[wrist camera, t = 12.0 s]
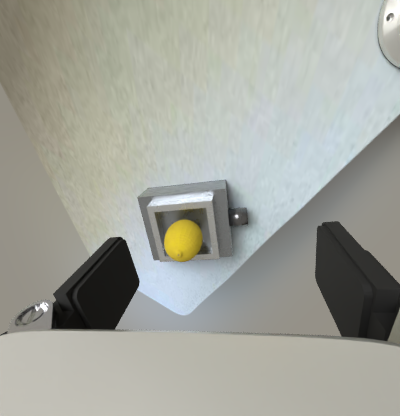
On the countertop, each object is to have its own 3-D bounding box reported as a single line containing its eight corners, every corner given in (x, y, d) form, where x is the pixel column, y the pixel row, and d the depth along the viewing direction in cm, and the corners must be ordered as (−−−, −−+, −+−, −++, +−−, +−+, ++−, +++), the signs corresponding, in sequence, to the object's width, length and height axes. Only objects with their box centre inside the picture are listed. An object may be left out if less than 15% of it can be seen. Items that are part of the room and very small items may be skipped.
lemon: (189, 247, 37) (179, 279, 30) (165, 226, 36) (149, 253, 29) (212, 228, 35) (208, 256, 28) (187, 204, 34) (176, 228, 27)
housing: (243, 177, 37) (246, 190, 30) (247, 239, 41) (251, 262, 35) (147, 188, 40) (132, 201, 33) (161, 245, 44) (150, 267, 37)
